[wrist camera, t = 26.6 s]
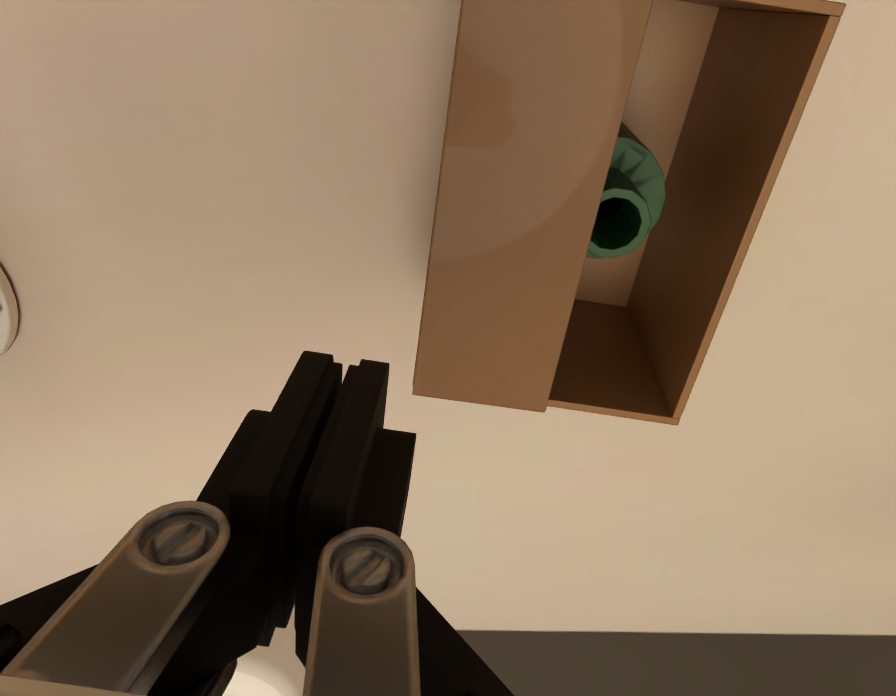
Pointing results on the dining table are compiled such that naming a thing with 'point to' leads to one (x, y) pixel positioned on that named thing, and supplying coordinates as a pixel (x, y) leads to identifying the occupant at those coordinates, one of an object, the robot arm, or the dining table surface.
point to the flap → (521, 190)
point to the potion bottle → (270, 668)
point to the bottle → (627, 199)
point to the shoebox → (690, 195)
